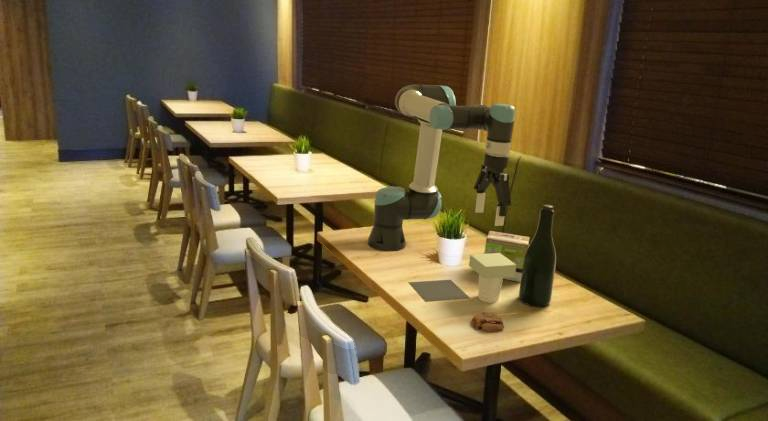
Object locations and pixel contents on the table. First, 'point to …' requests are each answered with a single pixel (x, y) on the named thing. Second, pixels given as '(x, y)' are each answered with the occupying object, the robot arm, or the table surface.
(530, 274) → the dark green wine bottle
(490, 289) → the white cup
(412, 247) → the table surface
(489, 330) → the cookie
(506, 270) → the lid
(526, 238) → the tea box
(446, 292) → the mat
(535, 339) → the table surface
